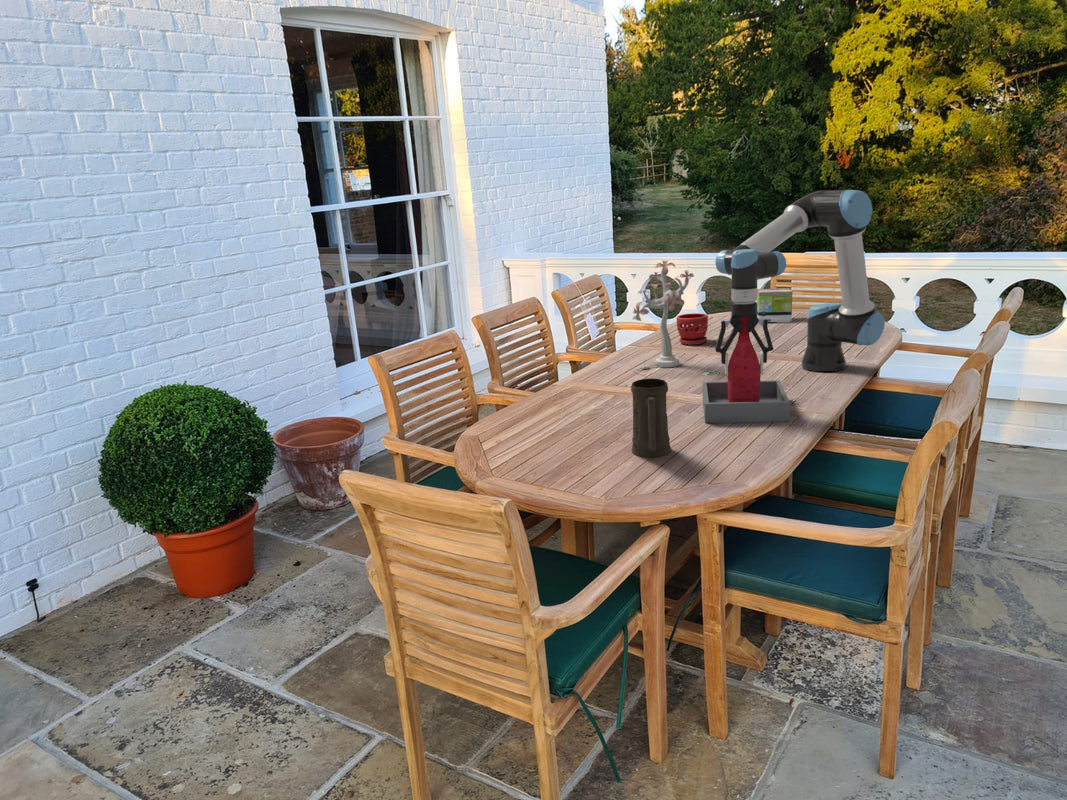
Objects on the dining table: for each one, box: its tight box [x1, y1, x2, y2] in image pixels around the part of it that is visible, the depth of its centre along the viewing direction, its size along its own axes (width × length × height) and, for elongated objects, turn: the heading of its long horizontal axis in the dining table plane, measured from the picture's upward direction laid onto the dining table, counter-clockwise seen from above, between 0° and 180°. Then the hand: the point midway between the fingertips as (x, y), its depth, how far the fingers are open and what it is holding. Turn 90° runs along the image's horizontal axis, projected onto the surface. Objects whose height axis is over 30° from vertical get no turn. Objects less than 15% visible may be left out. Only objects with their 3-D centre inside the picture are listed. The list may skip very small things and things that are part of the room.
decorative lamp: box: [632, 259, 695, 377], centre depth 304 cm, size 28×24×40 cm
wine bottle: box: [727, 317, 761, 402], centre depth 246 cm, size 10×10×30 cm
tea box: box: [756, 287, 793, 323], centre depth 372 cm, size 15×10×15 cm
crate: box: [702, 379, 791, 424], centre depth 250 cm, size 24×24×6 cm
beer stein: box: [630, 378, 672, 458], centre depth 217 cm, size 15×11×20 cm
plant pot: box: [676, 312, 709, 346], centre depth 342 cm, size 13×13×12 cm
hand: (743, 373), depth 247 cm, fingers closed on wine bottle, 10 cm apart
